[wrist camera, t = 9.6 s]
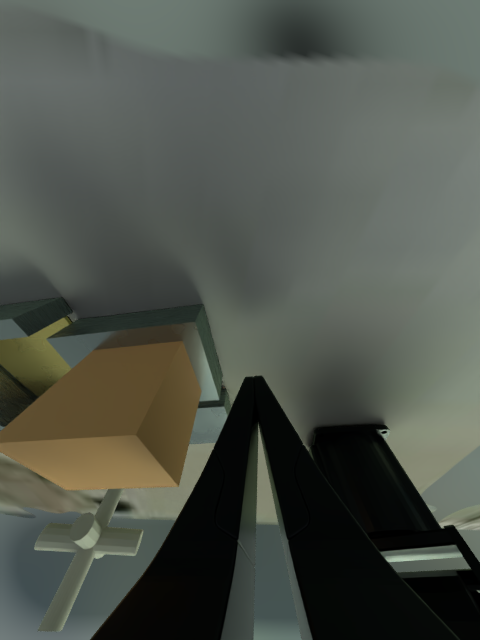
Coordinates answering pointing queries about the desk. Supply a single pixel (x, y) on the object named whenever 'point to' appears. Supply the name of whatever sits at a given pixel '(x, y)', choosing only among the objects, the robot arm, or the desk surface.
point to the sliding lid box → (90, 346)
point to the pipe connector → (84, 552)
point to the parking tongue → (210, 419)
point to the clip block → (111, 421)
